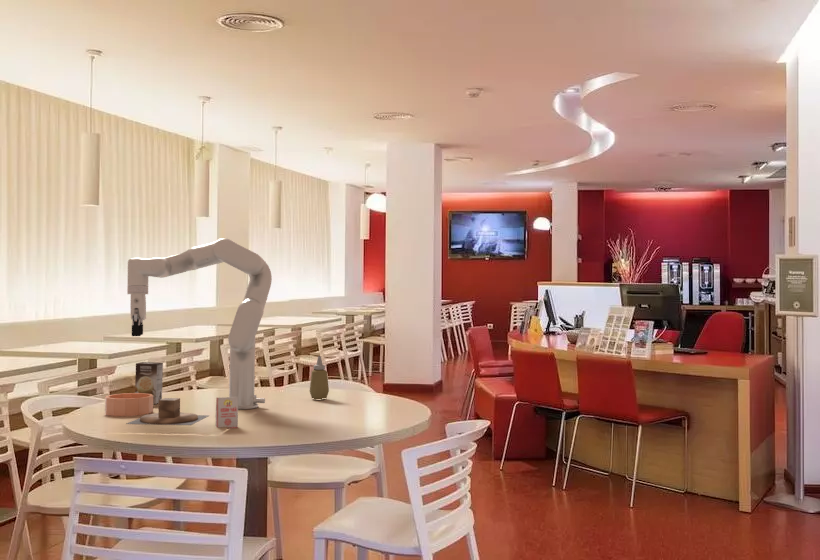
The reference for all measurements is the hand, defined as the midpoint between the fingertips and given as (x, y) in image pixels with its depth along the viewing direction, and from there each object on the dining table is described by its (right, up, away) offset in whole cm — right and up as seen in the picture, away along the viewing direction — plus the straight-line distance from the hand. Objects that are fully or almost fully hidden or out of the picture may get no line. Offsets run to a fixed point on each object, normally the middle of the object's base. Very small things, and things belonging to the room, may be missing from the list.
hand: (137, 335), depth 293 cm
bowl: (+2, -28, -13) cm, 31 cm away
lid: (+21, -27, -28) cm, 44 cm away
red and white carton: (+43, -28, -39) cm, 65 cm away
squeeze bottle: (+66, -29, +29) cm, 78 cm away
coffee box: (-1, -28, +15) cm, 32 cm away
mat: (+21, -28, -28) cm, 44 cm away
